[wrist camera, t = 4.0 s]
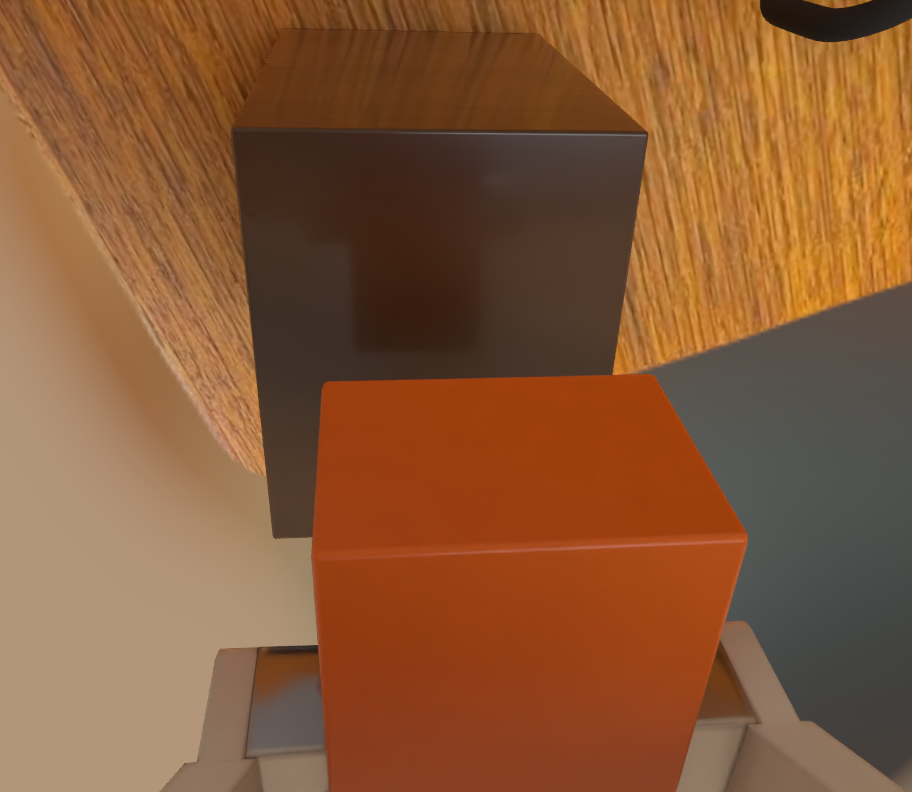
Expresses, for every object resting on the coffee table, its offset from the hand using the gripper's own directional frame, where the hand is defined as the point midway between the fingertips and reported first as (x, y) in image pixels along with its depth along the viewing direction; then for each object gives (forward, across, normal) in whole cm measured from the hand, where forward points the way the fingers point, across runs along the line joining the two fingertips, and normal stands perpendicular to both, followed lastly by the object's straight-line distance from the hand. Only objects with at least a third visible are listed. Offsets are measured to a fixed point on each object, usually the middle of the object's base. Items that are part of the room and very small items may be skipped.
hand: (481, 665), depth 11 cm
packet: (+1, 0, 0) cm, 1 cm away
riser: (+20, 0, 0) cm, 21 cm away
